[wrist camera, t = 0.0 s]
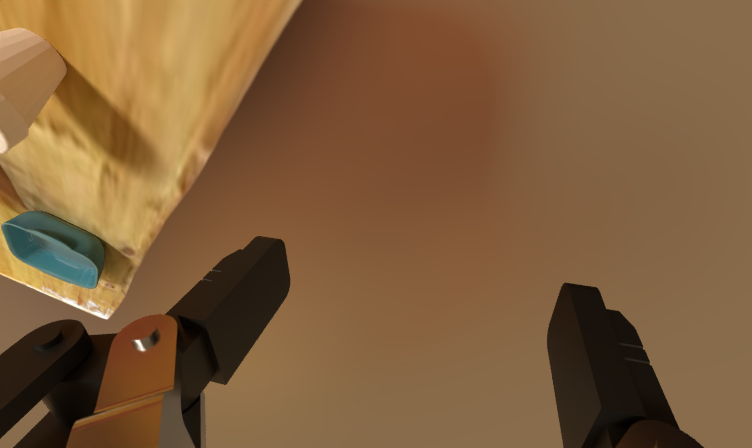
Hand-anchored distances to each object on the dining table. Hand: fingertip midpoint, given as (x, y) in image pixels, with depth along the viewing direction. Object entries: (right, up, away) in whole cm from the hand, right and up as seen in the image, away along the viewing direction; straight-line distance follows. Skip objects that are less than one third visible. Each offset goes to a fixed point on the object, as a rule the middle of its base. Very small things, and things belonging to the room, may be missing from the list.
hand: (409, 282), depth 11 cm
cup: (-47, +25, +40) cm, 66 cm away
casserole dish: (-85, -3, +92) cm, 126 cm away
